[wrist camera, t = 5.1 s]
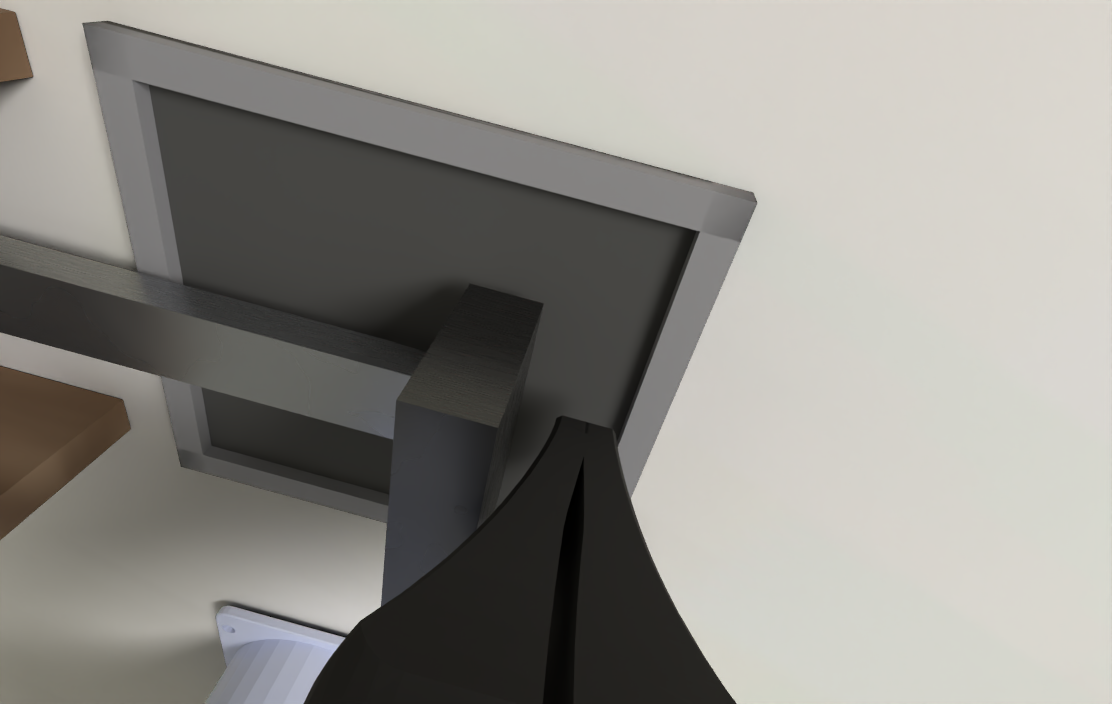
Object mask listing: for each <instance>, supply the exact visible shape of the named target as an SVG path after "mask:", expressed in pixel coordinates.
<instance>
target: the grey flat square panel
mask: <svg viewBox="0 0 1112 704" xmlns="http://www.w3.org/2000/svg"><path fill="white" fill-rule="evenodd" d="M82 24H83V28H84V33H85V37H86V41H87V46H88V51H89V55H90V59H91V64H92V68H93V73H94V77H95V82H96V86H97V91H98V95H99V100H100V104H101V109H102V113H103V118H104V122H105V127H106V131H107V136H108V140H109V145H110V149H111V154H112V158H113V163H114V167H115V172H116V176H117V181H118V185H119V190H120V194H121V199H122V203H123V208H124V212H125V217H126V221H127V226H128V230H129V235H130V239H131V244H132V248H133V253H134V257H135V262H136V266H137V271H138V273H141V274H145V275H149V276H153V277H156V278H160V279H164V280H167V281H171V282H175V283H178V284H182V285H186V286H189V287H193V288H197V289H200V290H204V291H208V292H211V293H215V294H219V295H223V296H226V297H230V298H234V299H237V300H241V301H245V302H248V303H252V304H256V305H259V306H263V307H267V308H270V309H274V310H278V311H282V312H285V313H289V314H293V315H296V316H300V317H304V318H307V319H311V320H315V321H318V322H322V323H326V324H329V325H333V326H337V327H340V328H344V329H348V330H352V331H355V332H359V333H363V334H366V335H370V336H374V337H377V338H381V339H385V340H388V341H392V342H396V343H399V344H403V345H407V346H410V347H414V348H418V349H422V350H425V351H428V349H429V347H430V346H431V344H432V343H433V341H434V339H435V338H436V336H437V335H438V333H439V332H440V330H441V328H442V327H443V325H444V324H445V322H446V321H447V319H448V317H449V316H450V314H451V313H452V311H453V309H454V308H455V306H456V305H457V303H458V302H459V300H460V298H461V297H462V295H463V294H464V292H465V290H466V289H467V287H468V286H469V284H474V285H477V286H481V287H485V288H489V289H492V290H496V291H500V292H503V293H507V294H511V295H514V296H518V297H522V298H526V299H529V300H533V301H537V302H540V303H544V306H543V310H542V314H541V318H540V323H539V327H538V331H537V335H536V340H535V344H534V348H533V353H532V357H531V361H530V365H529V370H528V374H527V378H526V383H525V387H524V391H523V395H522V400H521V404H520V408H519V412H518V417H517V421H516V425H515V430H514V434H513V438H512V442H511V447H510V451H509V455H508V459H507V464H506V468H505V472H504V477H503V481H502V485H501V489H500V494H499V497H498V500H497V503H496V506H495V510H496V509H497V508H498V506H499V505H500V504H501V503H502V502H503V501H504V500H505V498H506V497H507V496H508V495H509V493H510V492H511V491H512V490H513V489H514V487H515V486H516V485H517V484H518V482H519V481H520V480H521V479H522V477H523V476H524V475H525V473H526V472H527V470H528V469H529V468H530V466H531V465H532V463H533V462H534V460H535V459H536V458H537V456H538V455H539V453H540V451H541V450H542V448H543V446H544V445H545V443H546V441H547V439H548V438H549V436H550V434H551V432H552V429H553V427H554V425H555V421H556V418H557V417H560V416H562V415H563V416H567V417H570V418H574V419H578V420H581V421H585V422H589V423H592V424H596V425H600V426H603V427H607V428H611V429H613V430H614V432H615V434H616V440H617V446H618V452H619V457H620V462H621V466H622V470H623V474H624V478H625V482H626V486H627V489H628V492H629V496H630V499H631V497H632V494H633V492H634V490H635V487H636V485H637V483H638V480H639V478H640V476H641V473H642V471H643V469H644V466H645V464H646V462H647V459H648V457H649V455H650V452H651V450H652V448H653V445H654V443H655V441H656V438H657V436H658V434H659V431H660V429H661V427H662V424H663V422H664V420H665V417H666V415H667V413H668V410H669V408H670V406H671V403H672V401H673V399H674V396H675V394H676V392H677V389H678V387H679V385H680V382H681V380H682V378H683V375H684V373H685V371H686V368H687V366H688V364H689V361H690V359H691V357H692V354H693V352H694V350H695V347H696V345H697V343H698V340H699V338H700V336H701V333H702V331H703V329H704V326H705V324H706V322H707V319H708V317H709V315H710V312H711V310H712V308H713V305H714V303H715V301H716V298H717V296H718V294H719V291H720V289H721V287H722V284H723V282H724V280H725V277H726V275H727V273H728V270H729V268H730V266H731V263H732V261H733V259H734V256H735V254H736V252H737V249H738V247H739V245H740V242H741V240H742V238H743V235H744V233H745V231H746V228H747V226H748V224H749V221H750V219H751V217H752V214H753V212H754V210H755V207H756V205H757V201H756V198H755V196H754V193H752V192H749V191H745V190H741V189H737V188H733V187H730V186H726V185H722V184H718V183H715V182H711V181H707V180H703V179H700V178H696V177H692V176H688V175H685V174H681V173H677V172H673V171H670V170H666V169H662V168H658V167H655V166H651V165H647V164H643V163H640V162H636V161H632V160H628V159H625V158H621V157H617V156H613V155H610V154H606V153H602V152H598V151H595V150H591V149H587V148H583V147H580V146H576V145H572V144H568V143H564V142H561V141H557V140H553V139H549V138H546V137H542V136H538V135H534V134H531V133H527V132H523V131H519V130H516V129H512V128H508V127H504V126H501V125H497V124H493V123H489V122H486V121H482V120H478V119H474V118H471V117H467V116H463V115H459V114H456V113H452V112H448V111H444V110H441V109H437V108H433V107H429V106H426V105H422V104H418V103H414V102H411V101H407V100H403V99H399V98H396V97H392V96H388V95H384V94H380V93H377V92H373V91H369V90H365V89H362V88H358V87H354V86H350V85H347V84H343V83H339V82H335V81H332V80H328V79H324V78H320V77H317V76H313V75H309V74H305V73H302V72H298V71H294V70H290V69H287V68H283V67H279V66H275V65H272V64H268V63H264V62H260V61H257V60H253V59H249V58H245V57H242V56H238V55H234V54H230V53H227V52H223V51H219V50H215V49H212V48H208V47H204V46H200V45H196V44H193V43H189V42H185V41H181V40H178V39H174V38H170V37H166V36H163V35H159V34H155V33H151V32H148V31H144V30H140V29H136V28H133V27H129V26H125V25H121V24H118V23H114V22H110V21H101V22H89V23H82ZM161 379H162V383H163V388H164V392H165V397H166V401H167V406H168V410H169V415H170V419H171V424H172V428H173V433H174V437H175V442H176V446H177V451H178V455H179V460H180V464H181V467H185V468H188V469H192V470H196V471H199V472H203V473H206V474H210V475H214V476H217V477H221V478H225V479H228V480H232V481H236V482H239V483H243V484H246V485H250V486H254V487H257V488H261V489H265V490H268V491H272V492H276V493H279V494H283V495H286V496H290V497H294V498H297V499H301V500H305V501H308V502H312V503H315V504H319V505H323V506H326V507H330V508H334V509H337V510H341V511H345V512H348V513H352V514H355V515H359V516H363V517H366V518H370V519H374V520H377V521H381V522H385V523H387V519H388V505H389V491H390V478H391V464H392V450H393V439H389V438H385V437H382V436H378V435H375V434H371V433H367V432H364V431H360V430H356V429H353V428H349V427H345V426H342V425H338V424H334V423H331V422H327V421H323V420H320V419H316V418H312V417H309V416H305V415H301V414H298V413H294V412H290V411H287V410H283V409H279V408H276V407H272V406H268V405H265V404H261V403H257V402H254V401H250V400H247V399H243V398H239V397H236V396H232V395H228V394H225V393H221V392H217V391H214V390H210V389H206V388H203V387H199V386H195V385H192V384H188V383H184V382H181V381H177V380H173V379H170V378H166V377H162V376H161ZM495 510H494V511H495Z"/></svg>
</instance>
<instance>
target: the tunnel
mask: <svg viewBox="0 0 1112 704" xmlns="http://www.w3.org/2000/svg"><path fill="white" fill-rule="evenodd" d="M28 77H33V75H32V71H31V68H30V64H29V61H28V57H27V53H26V50H25V46H24V43H23V39H22V35H21V32H20V28H19V25H18V21H17V17H16V14H15V12H12V11H9V10H5V9H1V8H0V82H3V81H10V80H16V79H22V78H28ZM130 429H131V428H130V424H129V420H128V417H127V413H126V410H125V406H124V402H123V400H122V399H118V398H114V397H111V396H107V395H103V394H100V393H96V392H93V391H89V390H85V389H82V388H78V387H74V386H71V385H67V384H63V383H60V382H56V381H52V380H49V379H45V378H41V377H38V376H34V375H31V374H27V373H23V372H20V371H16V370H12V369H9V368H5V367H1V366H0V540H1V539H2V538H3V537H5V536H6V535H7V534H8V533H9V532H10V531H12V530H13V529H14V528H15V527H16V526H18V525H19V524H20V523H21V522H22V521H23V520H25V519H26V518H27V517H28V516H29V515H30V514H32V513H33V512H34V511H35V510H36V509H38V508H39V507H40V506H41V505H42V504H43V503H45V502H46V501H47V500H48V499H49V498H50V497H52V496H53V495H54V494H55V493H56V492H58V491H59V490H60V489H61V488H62V487H63V486H65V485H66V484H67V483H68V482H69V481H70V480H72V479H73V478H74V477H75V476H76V475H78V474H79V473H80V472H81V471H82V470H83V469H85V468H86V467H87V466H88V465H89V464H90V463H92V462H93V461H94V460H95V459H96V458H98V457H99V456H100V455H101V454H102V453H103V452H105V451H106V450H107V449H108V448H109V447H110V446H112V445H113V444H114V443H115V442H116V441H118V440H119V439H120V438H121V437H122V436H123V435H125V434H126V433H127V432H128V431H129V430H130Z"/></svg>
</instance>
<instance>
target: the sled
mask: <svg viewBox="0 0 1112 704" xmlns="http://www.w3.org/2000/svg"><path fill="white" fill-rule="evenodd" d="M543 306H544V303H540V302H537V301H533V300H529V299H526V298H522V297H518V296H514V295H511V294H507V293H503V292H500V291H496V290H492V289H489V288H485V287H481V286H477V285H474V284H469V286H468V287H467V289H466V290H465V292H464V294H463V295H462V297H461V298H460V300H459V302H458V303H457V305H456V306H455V308H454V309H453V311H452V313H451V314H450V316H449V317H448V319H447V321H446V322H445V324H444V325H443V327H442V328H441V330H440V332H439V333H438V335H437V336H436V338H435V339H434V341H433V343H432V344H431V346H430V347H429V349H428V351H425V350H422V349H418V348H414V347H410V346H407V345H403V344H399V343H396V342H392V341H388V340H385V339H381V338H377V337H374V336H370V335H366V334H363V333H359V332H355V331H352V330H348V329H344V328H340V327H337V326H333V325H329V324H326V323H322V322H318V321H315V320H311V319H307V318H304V317H300V316H296V315H293V314H289V313H285V312H282V311H278V310H274V309H270V308H267V307H263V306H259V305H256V304H252V303H248V302H245V301H241V300H237V299H234V298H230V297H226V296H223V295H219V294H215V293H211V292H208V291H204V290H200V289H197V288H193V287H189V286H186V285H182V284H178V283H175V282H171V281H167V280H164V279H160V278H156V277H153V276H149V275H145V274H141V273H138V272H134V271H130V270H127V269H123V268H119V267H116V266H112V265H108V264H105V263H101V262H97V261H94V260H90V259H86V258H83V257H79V256H75V255H71V254H68V253H64V252H60V251H57V250H53V249H49V248H46V247H42V246H38V245H35V244H31V243H27V242H24V241H20V240H16V239H13V238H9V237H5V236H1V235H0V332H1V333H5V334H9V335H12V336H16V337H20V338H23V339H27V340H31V341H34V342H38V343H42V344H45V345H49V346H53V347H56V348H60V349H64V350H67V351H71V352H75V353H78V354H82V355H86V356H89V357H93V358H97V359H100V360H104V361H108V362H111V363H115V364H118V365H122V366H126V367H129V368H133V369H137V370H140V371H144V372H148V373H151V374H155V375H159V376H162V377H166V378H170V379H173V380H177V381H181V382H184V383H188V384H192V385H195V386H199V387H203V388H206V389H210V390H214V391H217V392H221V393H225V394H228V395H232V396H236V397H239V398H243V399H247V400H250V401H254V402H257V403H261V404H265V405H268V406H272V407H276V408H279V409H283V410H287V411H290V412H294V413H298V414H301V415H305V416H309V417H312V418H316V419H320V420H323V421H327V422H331V423H334V424H338V425H342V426H345V427H349V428H353V429H356V430H360V431H364V432H367V433H371V434H375V435H378V436H382V437H385V438H389V439H393V450H392V464H391V478H390V491H389V505H388V519H387V532H386V546H385V560H384V573H383V587H382V601H381V606H383V605H384V604H386V603H387V602H389V601H390V600H392V599H393V598H395V597H396V596H398V595H399V594H401V593H402V592H403V591H405V590H406V589H407V588H409V587H410V586H411V585H413V584H414V583H415V582H416V581H418V580H419V579H420V578H421V577H423V576H424V575H425V574H427V573H428V572H429V571H430V570H432V569H433V568H434V567H435V566H437V565H438V564H439V563H440V562H442V561H443V560H444V559H445V558H446V557H447V556H449V555H450V554H451V553H452V552H453V551H454V550H455V549H456V548H458V547H459V546H460V545H461V544H462V543H463V542H464V541H465V540H466V539H467V538H468V537H469V536H470V535H471V534H473V533H474V532H475V531H476V530H477V529H478V528H479V527H480V526H481V525H482V524H483V523H484V521H485V520H486V519H487V518H488V517H489V516H490V515H491V514H492V513H493V512H494V510H495V506H496V503H497V500H498V497H499V494H500V489H501V485H502V481H503V477H504V472H505V468H506V464H507V459H508V455H509V451H510V447H511V442H512V438H513V434H514V430H515V425H516V421H517V417H518V412H519V408H520V404H521V400H522V395H523V391H524V387H525V383H526V378H527V374H528V370H529V365H530V361H531V357H532V353H533V348H534V344H535V340H536V335H537V331H538V327H539V323H540V318H541V314H542V310H543Z"/></svg>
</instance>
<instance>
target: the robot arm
mask: <svg viewBox="0 0 1112 704" xmlns="http://www.w3.org/2000/svg"><path fill="white" fill-rule="evenodd" d="M216 621H217V626H218V630H219V635H220V640H221V644H222V649H223V653H224V658H225V662H226V667H227V668H226V670H225V671H224V673H223V675H222V676H221V678H220V679H219V681H218V682H217V684H216V686H215V687H214V689H213V690H212V692H211V694H210V695H209V697H208V698H207V700H206V701H205V703H204V704H736V702H735V701H734V700H733V698H732V697H731V696H730V694H729V693H728V692H727V690H726V689H725V687H724V686H723V684H722V683H721V681H720V680H719V678H718V677H717V675H716V674H715V672H714V671H713V669H712V668H711V666H710V665H709V663H708V662H707V660H706V658H705V657H704V655H703V654H702V652H701V650H700V649H699V647H698V645H697V643H696V642H695V640H694V638H693V637H692V635H691V633H690V632H689V630H688V628H687V626H686V625H685V623H684V621H683V620H682V618H681V616H680V614H679V613H678V611H677V609H676V607H675V605H674V603H673V601H672V599H671V597H670V595H669V593H668V591H667V590H666V588H665V586H664V583H663V581H662V579H661V577H660V575H659V573H658V571H657V568H656V566H655V564H654V562H653V559H652V557H651V555H650V552H649V550H648V547H647V545H646V542H645V540H644V537H643V534H642V532H641V529H640V526H639V524H638V521H637V518H636V515H635V512H634V509H633V505H632V502H631V499H630V496H629V492H628V489H627V486H626V482H625V478H624V474H623V470H622V466H621V462H620V457H619V452H618V446H617V440H616V434H615V432H614V430H613V429H611V428H607V427H603V426H600V425H596V424H592V423H589V422H585V421H581V420H578V419H574V418H570V417H567V416H563V415H562V416H560V417H557V418H556V421H555V425H554V427H553V429H552V432H551V434H550V436H549V438H548V439H547V441H546V443H545V445H544V446H543V448H542V450H541V451H540V453H539V455H538V456H537V458H536V459H535V460H534V462H533V463H532V465H531V466H530V468H529V469H528V470H527V472H526V473H525V475H524V476H523V477H522V479H521V480H520V481H519V482H518V484H517V485H516V486H515V487H514V489H513V490H512V491H511V492H510V493H509V495H508V496H507V497H506V498H505V500H504V501H503V502H502V503H501V504H500V505H499V506H498V508H497V509H496V510H495V511H494V512H493V513H492V514H491V515H490V516H489V517H488V518H487V519H486V520H485V521H484V523H483V524H482V525H481V526H480V527H479V528H478V529H477V530H476V531H475V532H474V533H473V534H471V535H470V536H469V537H468V538H467V539H466V540H465V541H464V542H463V543H462V544H461V545H460V546H459V547H458V548H456V549H455V550H454V551H453V552H452V553H451V554H450V555H449V556H447V557H446V558H445V559H444V560H443V561H442V562H440V563H439V564H438V565H437V566H435V567H434V568H433V569H432V570H430V571H429V572H428V573H427V574H425V575H424V576H423V577H421V578H420V579H419V580H418V581H416V582H415V583H414V584H413V585H411V586H410V587H409V588H407V589H406V590H405V591H403V592H402V593H401V594H399V595H398V596H396V597H395V598H393V599H392V600H390V601H389V602H387V603H386V604H384V605H383V606H381V607H380V608H379V609H377V610H376V611H374V612H373V613H371V614H370V615H368V616H367V617H365V618H364V619H362V620H361V621H360V622H359V623H358V624H357V625H356V626H355V627H354V629H353V630H352V631H351V632H350V633H349V634H348V636H347V637H346V638H345V637H341V636H338V635H334V634H330V633H327V632H323V631H320V630H316V629H312V628H309V627H305V626H302V625H298V624H294V623H291V622H287V621H284V620H280V619H276V618H273V617H269V616H266V615H262V614H258V613H255V612H251V611H248V610H244V609H240V608H237V607H233V606H223V607H222V608H221V609H220V610H219V611H218V613H217V614H216Z"/></svg>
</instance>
